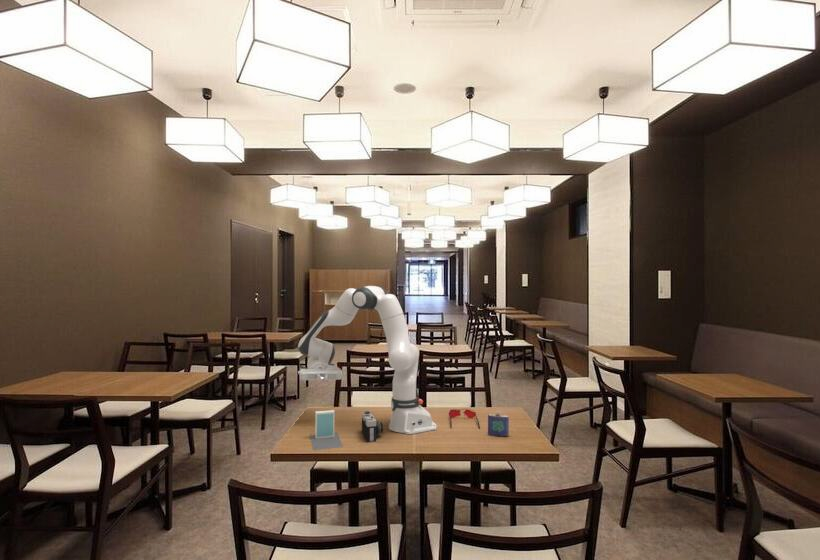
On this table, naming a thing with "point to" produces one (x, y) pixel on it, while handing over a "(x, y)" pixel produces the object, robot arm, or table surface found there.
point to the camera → (370, 427)
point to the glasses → (467, 412)
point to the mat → (326, 442)
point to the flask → (498, 425)
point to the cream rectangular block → (324, 424)
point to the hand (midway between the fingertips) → (323, 379)
